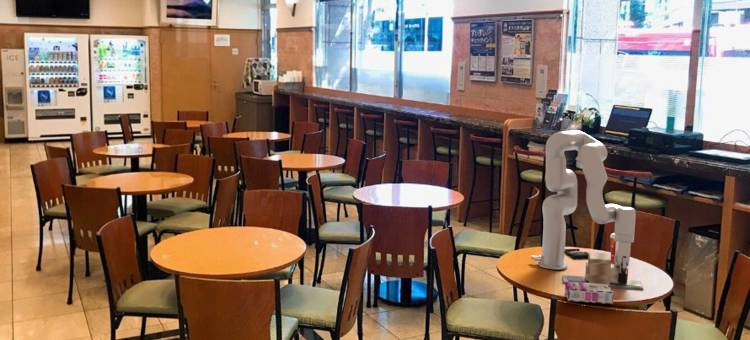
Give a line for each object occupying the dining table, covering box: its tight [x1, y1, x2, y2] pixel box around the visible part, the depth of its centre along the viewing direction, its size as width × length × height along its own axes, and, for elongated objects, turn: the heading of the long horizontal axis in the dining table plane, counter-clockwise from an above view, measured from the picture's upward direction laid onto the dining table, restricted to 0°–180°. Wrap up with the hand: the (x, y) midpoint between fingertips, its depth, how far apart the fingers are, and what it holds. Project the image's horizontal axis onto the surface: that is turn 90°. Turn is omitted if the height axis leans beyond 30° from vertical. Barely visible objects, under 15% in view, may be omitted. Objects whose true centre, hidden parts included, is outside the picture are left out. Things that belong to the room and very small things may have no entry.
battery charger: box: [564, 248, 589, 260], centre depth 333 cm, size 13×10×4 cm
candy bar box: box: [564, 282, 614, 305], centre depth 271 cm, size 11×5×16 cm
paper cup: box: [609, 232, 616, 264], centre depth 324 cm, size 8×8×14 cm
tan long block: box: [562, 251, 644, 291], centre depth 292 cm, size 31×12×12 cm, turn 77°
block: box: [584, 262, 629, 284], centre depth 292 cm, size 16×6×6 cm, turn 77°
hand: (621, 280), depth 291 cm, fingers closed on block, 6 cm apart
